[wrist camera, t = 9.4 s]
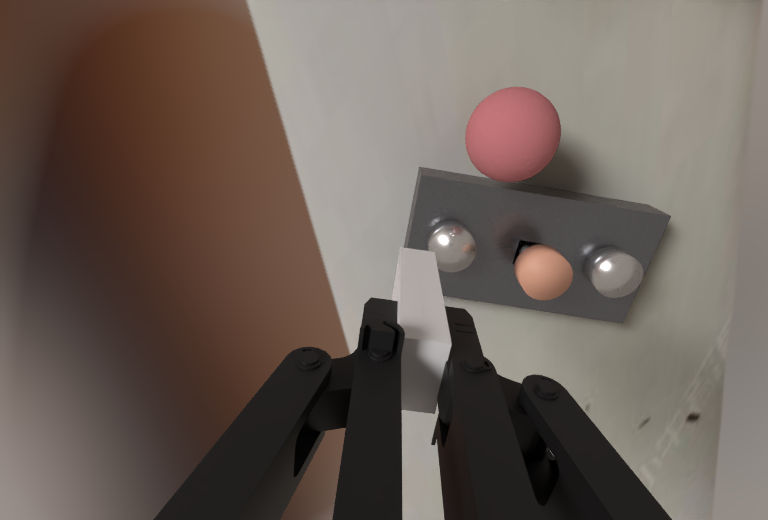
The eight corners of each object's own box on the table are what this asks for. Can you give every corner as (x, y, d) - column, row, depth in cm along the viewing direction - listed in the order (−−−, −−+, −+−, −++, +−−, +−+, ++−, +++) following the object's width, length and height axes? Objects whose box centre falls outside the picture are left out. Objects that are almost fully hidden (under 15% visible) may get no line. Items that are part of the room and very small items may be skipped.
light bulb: (540, 133, 40) (593, 152, 29) (477, 176, 42) (506, 210, 31) (502, 69, 38) (545, 64, 27) (438, 118, 40) (454, 131, 29)
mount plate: (419, 166, 42) (421, 174, 38) (647, 204, 43) (671, 216, 39) (399, 272, 47) (399, 288, 43) (605, 304, 48) (622, 323, 44)
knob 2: (511, 228, 41) (529, 251, 35) (555, 235, 41) (580, 259, 35) (499, 268, 42) (515, 296, 37) (541, 275, 42) (563, 303, 37)
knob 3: (578, 230, 44) (604, 252, 38) (619, 237, 44) (650, 259, 38) (565, 268, 45) (588, 294, 40) (604, 274, 46) (632, 301, 40)
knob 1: (429, 206, 43) (434, 225, 38) (471, 213, 43) (481, 232, 38) (421, 245, 45) (424, 268, 39) (461, 251, 45) (470, 275, 39)
